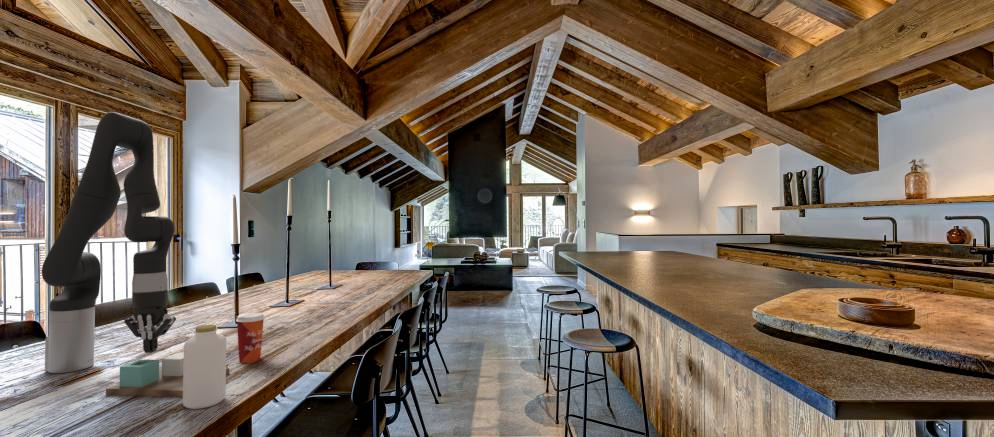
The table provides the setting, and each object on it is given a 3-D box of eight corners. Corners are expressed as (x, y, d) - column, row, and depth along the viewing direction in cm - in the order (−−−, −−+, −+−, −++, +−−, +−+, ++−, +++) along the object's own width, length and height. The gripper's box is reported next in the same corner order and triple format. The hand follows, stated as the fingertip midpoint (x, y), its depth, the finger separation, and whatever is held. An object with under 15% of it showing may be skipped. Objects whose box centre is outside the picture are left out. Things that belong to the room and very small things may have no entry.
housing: (161, 375, 111) (161, 358, 111) (177, 368, 116) (178, 352, 116) (179, 376, 111) (180, 359, 111) (195, 369, 116) (195, 353, 116)
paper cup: (250, 365, 124) (251, 318, 124) (228, 363, 126) (229, 316, 126) (270, 357, 132) (270, 312, 132) (249, 355, 133) (250, 311, 133)
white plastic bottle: (197, 395, 102) (198, 322, 102) (232, 395, 103) (234, 322, 103) (173, 411, 94) (175, 331, 94) (212, 410, 95) (214, 331, 95)
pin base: (105, 394, 102) (106, 370, 102) (160, 371, 118) (160, 350, 118) (185, 396, 102) (185, 372, 102) (229, 373, 118) (229, 351, 118)
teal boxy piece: (119, 386, 103) (119, 366, 103) (138, 378, 109) (139, 359, 109) (140, 387, 103) (141, 367, 103) (158, 379, 109) (159, 359, 109)
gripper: (113, 291, 111) (113, 356, 111) (163, 291, 111) (163, 356, 110) (138, 286, 118) (138, 348, 118) (184, 286, 118) (184, 347, 118)
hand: (150, 352), depth 114 cm, fingers closed
